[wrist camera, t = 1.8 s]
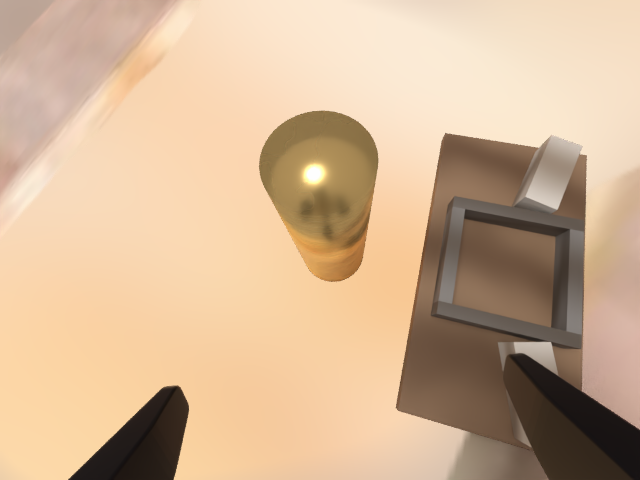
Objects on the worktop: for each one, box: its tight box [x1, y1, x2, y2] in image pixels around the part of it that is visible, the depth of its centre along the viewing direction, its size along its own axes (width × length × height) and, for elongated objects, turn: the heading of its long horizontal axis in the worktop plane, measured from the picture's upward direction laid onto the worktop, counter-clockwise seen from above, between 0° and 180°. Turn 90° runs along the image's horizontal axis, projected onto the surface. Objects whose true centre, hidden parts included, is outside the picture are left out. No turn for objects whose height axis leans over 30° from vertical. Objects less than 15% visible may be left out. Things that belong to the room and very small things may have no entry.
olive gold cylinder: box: [259, 111, 378, 282], centre depth 18 cm, size 4×4×12 cm
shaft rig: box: [396, 133, 587, 451], centre depth 21 cm, size 20×10×3 cm, turn 165°
